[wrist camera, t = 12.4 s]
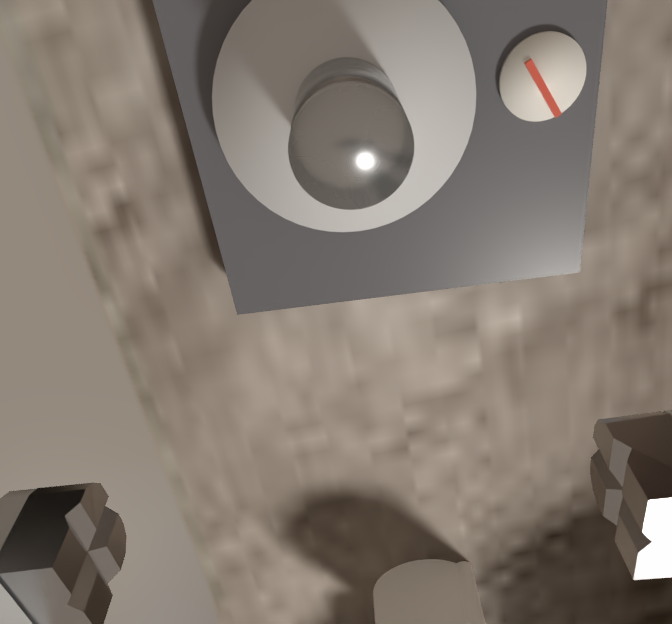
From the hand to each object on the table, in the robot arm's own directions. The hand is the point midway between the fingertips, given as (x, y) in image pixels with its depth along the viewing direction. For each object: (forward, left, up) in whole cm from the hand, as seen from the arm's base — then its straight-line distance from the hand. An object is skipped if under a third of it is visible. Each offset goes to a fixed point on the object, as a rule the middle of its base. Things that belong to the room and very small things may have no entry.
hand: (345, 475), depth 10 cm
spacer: (-1, -1, -19) cm, 19 cm away
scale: (-3, -1, -22) cm, 23 cm away
